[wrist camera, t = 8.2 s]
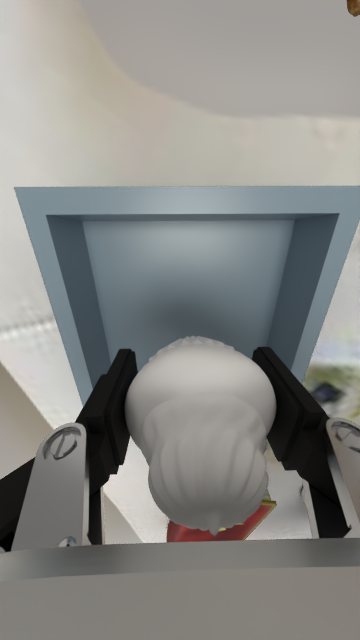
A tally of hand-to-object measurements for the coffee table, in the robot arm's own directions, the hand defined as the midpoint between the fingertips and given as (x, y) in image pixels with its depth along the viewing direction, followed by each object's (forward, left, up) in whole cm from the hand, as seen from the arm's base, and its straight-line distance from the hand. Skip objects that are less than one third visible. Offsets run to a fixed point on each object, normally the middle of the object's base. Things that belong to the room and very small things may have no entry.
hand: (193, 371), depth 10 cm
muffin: (0, 0, -1) cm, 1 cm away
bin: (0, 0, -8) cm, 8 cm away
